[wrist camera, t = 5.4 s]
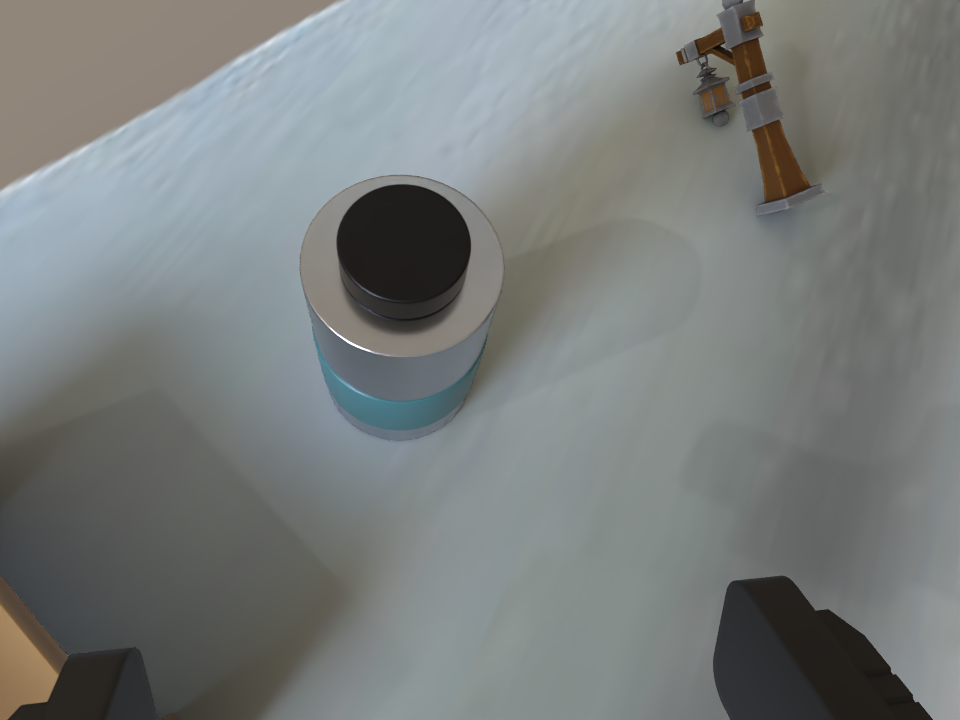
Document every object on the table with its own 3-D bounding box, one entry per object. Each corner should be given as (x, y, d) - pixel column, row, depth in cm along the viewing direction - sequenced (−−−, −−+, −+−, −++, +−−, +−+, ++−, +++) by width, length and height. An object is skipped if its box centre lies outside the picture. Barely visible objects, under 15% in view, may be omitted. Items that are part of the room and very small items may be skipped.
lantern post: (692, 23, 30) (765, -27, 26) (751, 210, 32) (830, 191, 27) (655, 36, 30) (723, -14, 26) (717, 224, 31) (792, 208, 27)
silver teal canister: (402, 278, 26) (407, 111, 18) (501, 373, 25) (557, 247, 17) (293, 368, 25) (244, 233, 16) (396, 473, 24) (401, 389, 15)
